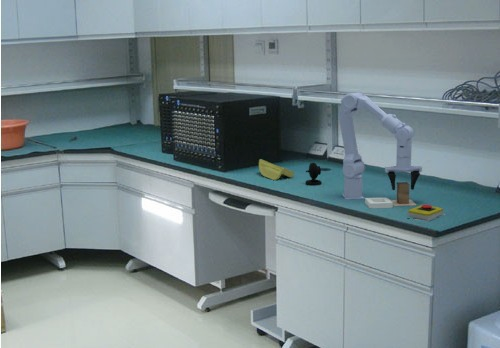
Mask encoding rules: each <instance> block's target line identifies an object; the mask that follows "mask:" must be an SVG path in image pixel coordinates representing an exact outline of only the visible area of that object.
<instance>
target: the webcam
mask: <svg viewBox="0 0 500 348" xmlns="http://www.w3.org/2000/svg"><path fill="white" fill-rule="evenodd" d="M305 173H308V174H309V178H310V179H307V180H305V184H306V185H308V186H319V185H322V184H323V183H322V181H321V180H320V179H317V178H318V176H319V175H321V174H322V168H321V166H320V165H318V164H317V163H315V162H310V163H309V166H308V170H305Z"/></svg>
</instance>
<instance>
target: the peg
mask: <svg viewBox="0 0 500 348" xmlns="http://www.w3.org/2000/svg"><path fill="white" fill-rule="evenodd" d="M396 200H397V202H398V203H399V204H409V200H410V183H409V182H408V181H401V182H399V181H398V182H396Z"/></svg>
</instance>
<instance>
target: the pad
mask: <svg viewBox="0 0 500 348" xmlns="http://www.w3.org/2000/svg"><path fill="white" fill-rule="evenodd" d="M389 200H390V201H391V202H392V203H393V207H402V206H404V207H405V206H406V207H408V206H417V204H416V202H414V200H412V199H409V204H399V203H398V202H397V199H389Z"/></svg>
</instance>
